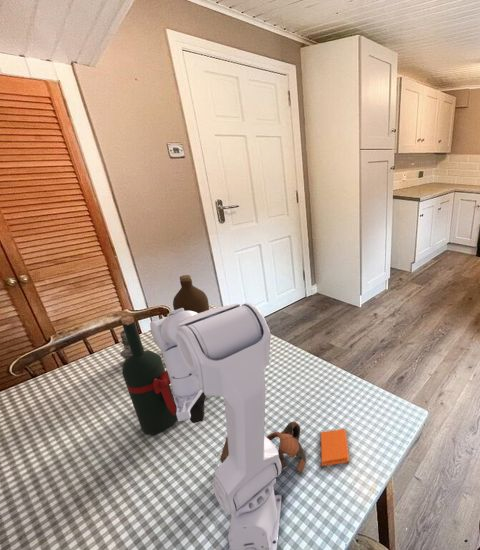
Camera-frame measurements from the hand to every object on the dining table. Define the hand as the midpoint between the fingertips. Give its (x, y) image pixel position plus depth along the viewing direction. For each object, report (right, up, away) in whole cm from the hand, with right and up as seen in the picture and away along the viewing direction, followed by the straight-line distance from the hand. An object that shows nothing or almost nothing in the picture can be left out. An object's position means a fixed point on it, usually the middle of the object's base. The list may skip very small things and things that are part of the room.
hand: (198, 419), depth 66 cm
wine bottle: (-14, -6, +11) cm, 19 cm away
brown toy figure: (+19, -10, +2) cm, 21 cm away
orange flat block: (+29, -9, +4) cm, 31 cm away
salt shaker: (-40, +3, +34) cm, 53 cm away
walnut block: (+9, -10, +1) cm, 13 cm away
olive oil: (-25, +8, +45) cm, 52 cm away
